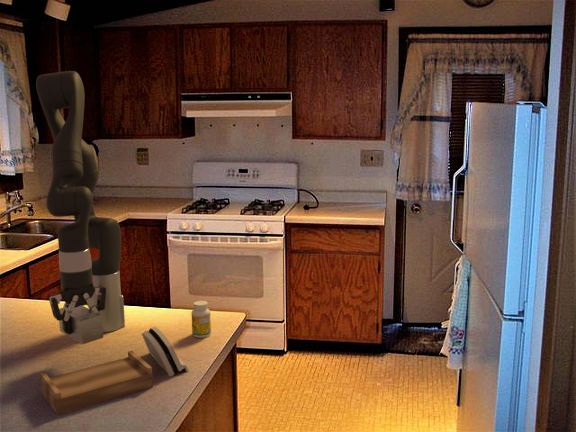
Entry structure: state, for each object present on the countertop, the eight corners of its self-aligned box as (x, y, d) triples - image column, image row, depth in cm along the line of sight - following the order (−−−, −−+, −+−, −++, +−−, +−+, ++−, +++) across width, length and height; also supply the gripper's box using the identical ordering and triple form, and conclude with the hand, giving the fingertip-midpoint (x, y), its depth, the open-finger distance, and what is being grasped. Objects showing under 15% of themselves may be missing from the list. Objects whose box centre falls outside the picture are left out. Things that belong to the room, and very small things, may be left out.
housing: (80, 325, 162) (78, 303, 160) (103, 337, 153) (101, 315, 152) (60, 331, 158) (58, 309, 157) (82, 344, 150) (80, 321, 148)
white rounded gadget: (189, 371, 153) (175, 339, 150) (172, 381, 151) (157, 348, 148) (167, 348, 167) (153, 317, 164) (151, 357, 166) (137, 326, 162)
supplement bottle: (213, 336, 176) (212, 304, 174) (194, 339, 174) (193, 307, 172) (208, 330, 181) (207, 298, 179) (190, 332, 179) (189, 301, 177)
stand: (42, 393, 142) (40, 373, 141) (132, 369, 155) (131, 350, 154) (57, 415, 132) (55, 393, 131) (152, 387, 145) (151, 367, 144)
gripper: (98, 258, 159) (103, 319, 163) (41, 268, 150) (47, 332, 154) (109, 264, 153) (114, 327, 157) (50, 275, 145) (57, 342, 148)
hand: (81, 330), depth 155 cm, fingers closed on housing, 6 cm apart
